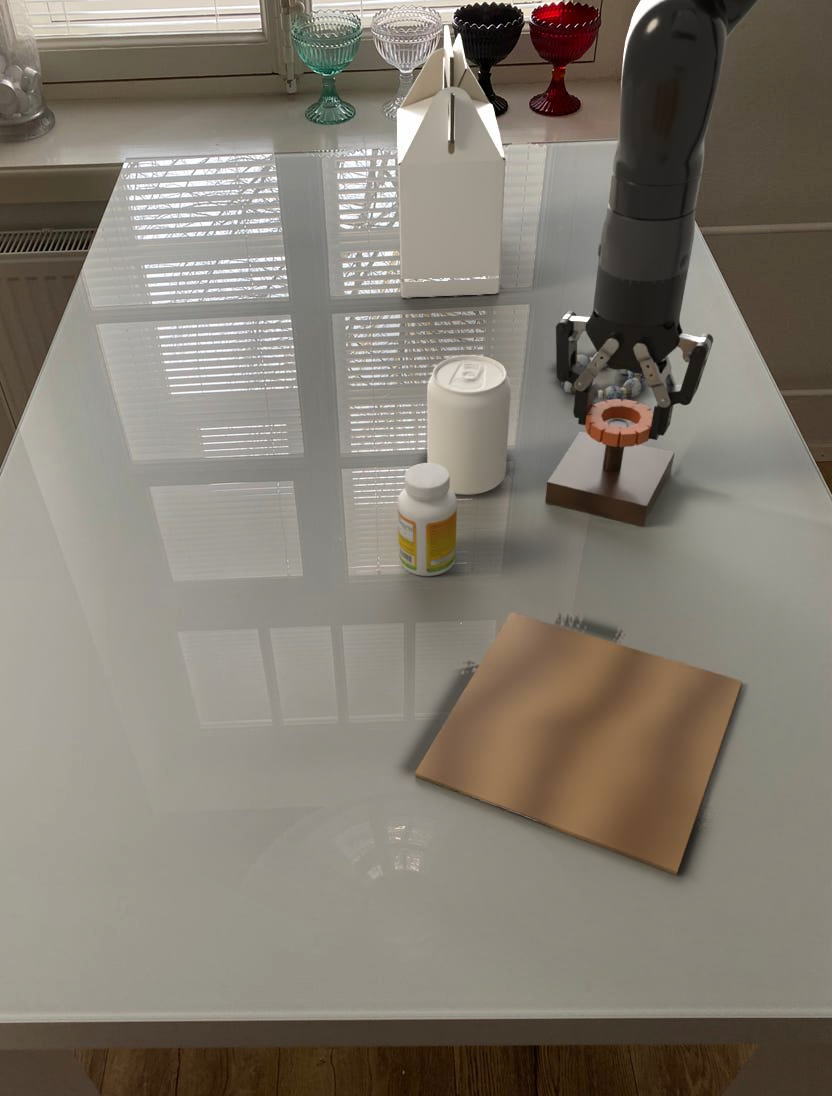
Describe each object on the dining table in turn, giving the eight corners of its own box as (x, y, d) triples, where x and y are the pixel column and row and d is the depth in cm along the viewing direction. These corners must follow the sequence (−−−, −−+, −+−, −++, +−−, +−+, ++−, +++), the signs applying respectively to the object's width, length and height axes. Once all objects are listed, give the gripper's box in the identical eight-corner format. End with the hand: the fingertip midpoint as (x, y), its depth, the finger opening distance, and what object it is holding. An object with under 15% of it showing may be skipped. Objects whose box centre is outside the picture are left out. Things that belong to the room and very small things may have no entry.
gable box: (499, 296, 133) (510, 62, 114) (401, 300, 134) (395, 68, 114) (487, 229, 149) (495, 15, 130) (399, 234, 150) (394, 21, 130)
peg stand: (670, 472, 102) (683, 408, 97) (643, 527, 96) (655, 462, 91) (577, 451, 106) (584, 388, 101) (544, 502, 100) (551, 438, 95)
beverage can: (420, 495, 102) (419, 391, 93) (435, 451, 107) (435, 349, 99) (499, 503, 100) (505, 398, 92) (509, 458, 106) (516, 355, 97)
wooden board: (741, 684, 81) (742, 680, 80) (676, 875, 68) (677, 872, 68) (510, 615, 88) (511, 611, 88) (414, 776, 76) (414, 773, 76)
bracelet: (658, 397, 113) (661, 382, 111) (579, 414, 111) (581, 398, 110) (618, 358, 120) (620, 343, 118) (543, 373, 118) (545, 358, 117)
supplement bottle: (460, 545, 96) (463, 461, 89) (449, 581, 92) (451, 496, 85) (406, 538, 97) (404, 454, 90) (393, 573, 93) (390, 488, 86)
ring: (661, 419, 97) (663, 406, 96) (642, 452, 93) (644, 440, 92) (597, 406, 99) (599, 393, 98) (576, 438, 95) (578, 426, 94)
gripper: (740, 253, 84) (704, 424, 96) (576, 230, 89) (561, 395, 101) (719, 289, 79) (683, 464, 91) (548, 264, 85) (535, 432, 96)
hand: (619, 427), depth 96 cm, fingers closed on ring, 6 cm apart
